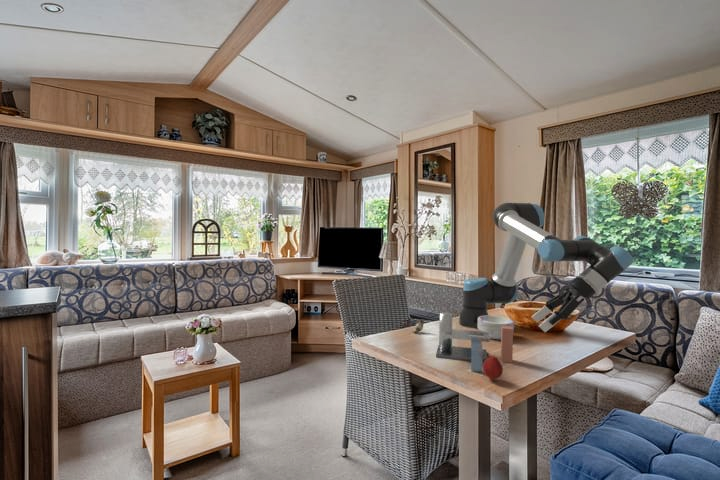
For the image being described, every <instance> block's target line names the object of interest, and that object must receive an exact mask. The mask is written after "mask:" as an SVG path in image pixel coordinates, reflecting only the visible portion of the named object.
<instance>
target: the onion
mask: <svg viewBox="0 0 720 480" xmlns="http://www.w3.org/2000/svg"><path fill="white" fill-rule="evenodd" d="M503 371H504V370H503V366H502V363H501V361H500V360H499V359H498V358H497V357H496V356H495V355H494V354H490V357H488V359H486V360H485V361H484V362H483V365H482V372H483V373H484V375H485V376H487V378H489V380H490V381H496V380H497V379H499V378H500V377H501V376H502V375H503Z"/></svg>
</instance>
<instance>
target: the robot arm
mask: <svg viewBox="0 0 720 480" xmlns="http://www.w3.org/2000/svg"><path fill="white" fill-rule="evenodd" d="M545 219H546V218H545V213H544V209H543V208H542V207H541V206H540V205H539V204H537V203H531V202H527V203H526V202H525V203H523V202H504V203H501V204H500V205H498V206H497V207H496V208H495V209H494V211H493V214H492V221H493V224H494V225H495V226H496V227H497V228H498V229H500V230H502V231H503V232H509V233H508V235H507V240H506V242H505V245H504V249H503V251H502V254H501V258H500V261H499V264H498V267H497V270H496V272H495V273H493V274H492V276H491V278H490V280H488V278H486V277H471V278H466V279H465V280H463V281H464V282H463V286H462V310H461V313H460V315H459V319H458V324H459V325H461V326H462V327H468V328H474V329H478V327H477V326H478V317H480V316H486V315H489V312H488V304H510V303H513V302H515V300H516V299H517V297H518V293H519V290H518V289H519V285H518V284H517V281H516V279H515V277H516V274H517V271H518V269H519V266H520V263H521V260H522V257H523V255H524V252H525V249H526V246H527V245H529V246H531V247H532V248H534V249H536V250H537V254H538V256H539V257H540V259H541V260H542V261H546V262H553V263H554V262H555V263H556V262H585V263H587V264H588V265H590V266H588V267H587V268H586V269H584V270H583V271H582V272H581V273H579V276H576V277H575V278H574V279H572V280H571V281H570V282H569V286H570V287H571V289H569V288H568V287H567V288H565V290H563V291H562V292H560V293H558V294H557V295H555V296H554V297H552V298H550V299H549V300H547V301H546V302H545V305H544V306H542V308H540V309H539V310H538V311H537V312H535V313H534V314H533V315H532V316H531V319H532V320H534V322H536V323H537V324H538V323H539V322H540V321H542V320H543V319H544V318H545V317H546V316H548V315H549V314H550V313H552V314H551V315H550V316H548V317H547V318H546V319H545V320H544V321H543V322H541V323H540V324H539V325H538V327H539V328H540V329H541V330H542V331H543V332H544V333H546V332H548V331H549V330H550V329H551V328H553V327H554V326H556V324H558V323H559V322H560V321H562V320H564V321H565V320H568V318H569V317H570V316H571V314H573V312H574V311H575V310H576V309H577V308H578V307H579V305H581V304H582V303H583V302H584V301H585V300H589V299H590V298H592V297H593V296H595V295H596V293H597V292H599V291H600V290H602V289H606V286H607V285H608V284H609V283H611V281H613V280H614V279H615V278H616V277H618V276H619V275H621V274H622V273H623V272H625V271H626V270H627V269H628V268H629V267H630V266H631V265H632V264H633V263H634V262H635V259H634V257H633V256H632V255H631V253H629V251H627V250H626V249H624V248H623V247H622V246H619V245H614V246H613V247H610V248H607V247H605V246H604V245H602V244H600V243H599V242H597V241H595V240H594V239H592V238H590V237H587V236H584V235H579V236H577V237H575V238H573V239H561V238H559V237H557V236H556V235H554V234H552V233H551V232H548V231H547V230H545V229H543V228H542V227H543V226H544V223H545ZM556 308H559V309H558V310H555V309H556ZM554 310H555V311H554Z"/></svg>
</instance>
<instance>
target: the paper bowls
mask: <svg viewBox="0 0 720 480" xmlns="http://www.w3.org/2000/svg"><path fill="white" fill-rule="evenodd" d="M501 326H508V327H512V328H513V332H514V330H515V329H514V328H515V321H514V320H513V319H511V318H508V317H505V316H498V315H489V314H488V315H486V316H480V317H478V326H477V327H478V328H477V330H478V331H480V332H488V334H489V338H490V340H491V339H493V340H501Z"/></svg>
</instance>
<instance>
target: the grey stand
mask: <svg viewBox="0 0 720 480" xmlns="http://www.w3.org/2000/svg"><path fill="white" fill-rule="evenodd" d="M438 320H439V321H438V322H439V327H438V328H439V331H438V334H439V335H438V345H437V346H438V347H437V349H436V353H435V358H441V359H450V360H451V359H452V360H460V361H461V360H462V361H469V362H470V372H473V373H474V372H476V373H483V363H484V361H485V360H486V359H488V358H489V357H488V352H487V349H484V348H483V342H485V343H490V340H491V338H489V334H488V332H482V331H481V330H478V331H477V330H469V329H468V330H466V329H457V328H453V313H451V312H445V311H443V312H439V319H438ZM453 339H454V340H464V341H465V340H466V341H470V347H465V346H464V347H463V346H453Z"/></svg>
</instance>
